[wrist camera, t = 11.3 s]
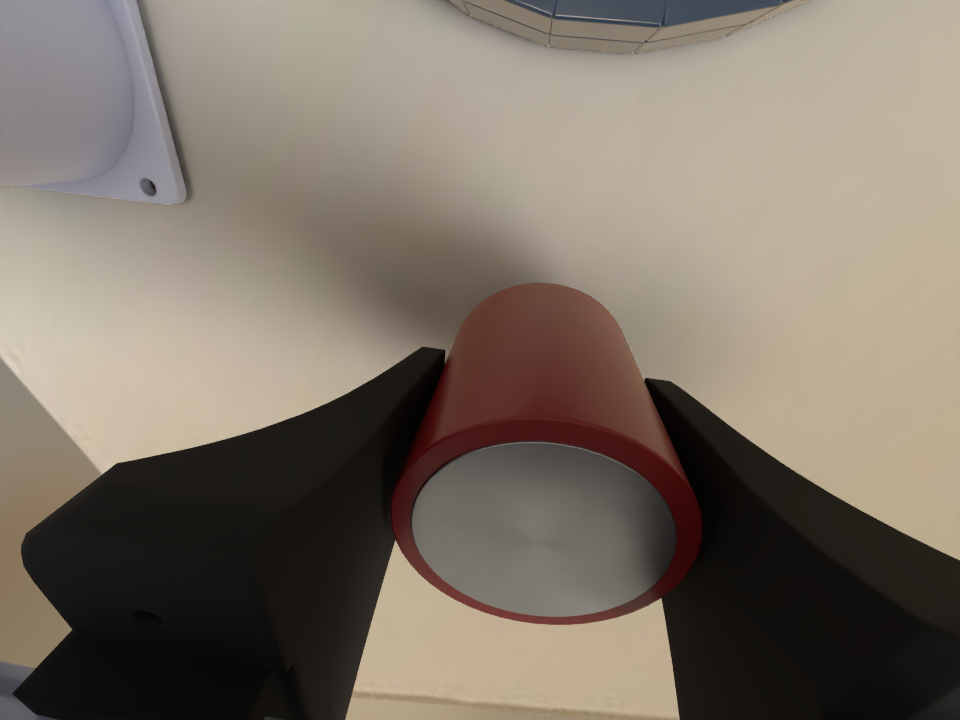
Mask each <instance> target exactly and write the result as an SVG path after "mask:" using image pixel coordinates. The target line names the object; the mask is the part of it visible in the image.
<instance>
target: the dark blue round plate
mask: <svg viewBox="0 0 960 720" xmlns="http://www.w3.org/2000/svg"><path fill="white" fill-rule="evenodd" d="M448 1H450V2H451V3H452V4H454V5H455V6H456V7H458V8H459V9H460V10H462V11H463V12H465V13H466V14H467V15H471V16H472V17H473V18H475V19H478V20H480V21H483V22H485V23H488V24H490V25H493V26H496V27H498V28H501V29H503V30H506V31H508V32H511V33H513V34H516V35H519V36H521V37H524V38H526V39H529V40H531V41H534V42H537V43H539V44H542V45H544V46H548V45H549V46H550V47H553V48H565V49H576V50H588V51H599V52H611V53H622V54H631V53H632V52H633V53H635V54H637V53H642V52H647V51H653V50H658V49H664V48H669V47H675V46H680V45H686V44H691V43H697V42H702V41H708V40H713V39H718V38H721V37H723V36H729V35H731V34H733V33H736V32H738V31H740V30H742V29H745V28H747V27H749V26H752V25H754V24H756V23H759V22H761V21H763V20H766V19H768V18H770V17H773V16H775V15H777V14H780V13H782V12H784V11H786V10H789V9H791V8H793V7H796V6H798V5H800V4H803V3H805V2H807V1H810V0H448Z"/></svg>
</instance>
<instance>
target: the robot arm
mask: <svg viewBox="0 0 960 720" xmlns="http://www.w3.org/2000/svg"><path fill="white" fill-rule="evenodd" d="M151 181H152V182H153V183H154V185H155V187H156V192H155V191H154V190H153V188H152V186H151ZM10 186H13V187H21V188H29V189H37V190H46V191H54V192H62V193H71V194H79V195H87V196H96V197H104V198H112V199H120V200H129V201H137V202H145V203H154V204H162V205H175V204H181V203H182V202H184V201H185V199H186V196H187V194H186V187H185V183H184V180H183V176H182V172H181V168H180V164H179V161H178V157H177V153H176V149H175V145H174V141H173V138H172V134H171V130H170V126H169V122H168V119H167V115H166V111H165V107H164V103H163V99H162V96H161V92H160V88H159V84H158V80H157V77H156V73H155V69H154V65H153V61H152V57H151V54H150V50H149V46H148V42H147V38H146V35H145V31H144V27H143V23H142V19H141V15H140V12H139V8H138V4H137V0H0V187H10ZM444 364H445V350H442V349H435V348H428V347H422V348H420V349H418V350H417V351H415V352H414V353H412V354H411V355H409V356H408V357H406V358H405V359H403V360H402V361H400V362H399V363H397V364H396V365H394V366H393V367H391V368H390V369H388V370H387V371H385V372H383V373H382V374H380V375H379V376H377V377H375V378H374V379H372V380H370V381H368V382H367V383H365V384H363V385H361V386H360V387H358V388H356V389H354V390H353V391H351V392H349V393H347V394H345V395H343V396H341V397H339V398H337V399H335V400H333V401H331V402H329V403H327V404H324V405H322V406H320V407H318V408H315V409H313V410H311V411H308V412H306V413H304V414H301V415H298V416H295V417H293V418H290V419H287V420H284V421H282V422H279V423H276V424H273V425H270V426H268V427H265V428H262V429H259V430H256V431H252V432H249V433H246V434H242V435H239V436H236V437H232V438H229V439H225V440H221V441H217V442H214V443H210V444H206V445H202V446H198V447H194V448H190V449H185V450H180V451H176V452H171V453H166V454H161V455H157V456H152V457H147V458H142V459H138V460H133V461H127V462H122V463H117V464H115V465H114V466H113V467H112V468H110V469H109V470H108V471H106V472H105V473H104V474H103V475H101V476H100V477H99V478H97V479H96V480H95V481H93V482H92V483H91V484H90V485H88V486H87V487H86V488H85V489H83V490H82V491H81V492H79V493H78V494H77V495H75V496H74V497H73V498H71V499H70V500H69V501H68V502H66V503H65V504H64V505H63V506H61V507H60V508H58V509H57V510H56V511H55V512H53V513H52V514H51V515H50V516H48V517H47V518H46V519H44V520H43V521H42V522H40V523H39V524H38V525H36V526H35V527H34V528H33V529H31V530H30V531H29V532H28V533H26V536H25V538H24V540H23V543H22V545H21V555H22V560H23V565H24V567H25V569H26V570H27V572H28V574H29V575H30V577H31V578H32V580H33V581H34V583H35V584H36V585H37V586H38V588H39V589H40V590H41V591H42V592H43V594H44V595H45V596H46V597H47V599H48V600H49V601H50V602H51V604H52V605H53V606H54V607H55V609H56V610H57V611H58V612H59V613H60V615H61V616H62V617H63V618H64V620H65V621H66V622H67V623H68V624H69V626H70V627H71V628H72V629H73V630H72V631H71V632H70V633H69V634H68V635H67V636H66V637H65V638H64V639H63V640H62V641H61V642H60V643H59V645H58V646H57V647H56V648H55V649H54V650H53V651H52V652H51V653H50V654H49V655H48V656H47V657H46V658H45V659H44V660H43V661H42V663H40V665H39V666H38V667H37V668H32V667H27V666H22V665H17V664H12V663H8V662H3V661H0V720H345V718H346V714H347V710H348V707H349V703H350V699H351V695H352V692H353V688H354V684H355V680H356V676H357V672H358V669H359V665H360V661H361V657H362V654H363V650H364V647H365V643H366V639H367V636H368V632H369V628H370V625H371V621H372V618H373V614H374V610H375V607H376V603H377V600H378V597H379V593H380V590H381V586H382V583H383V579H384V576H385V572H386V569H387V566H388V562H389V559H390V556H391V552H392V549H393V546H394V543H395V536H394V533H393V530H392V525H391V517H390V505H391V497H392V493H393V489H394V486H395V483H396V481H397V479H398V476H399V474H400V471H401V469H402V466H403V464H404V462H405V459H406V457H407V454H408V452H409V450H410V447H411V445H412V442H413V440H414V437H415V435H416V433H417V430H418V428H419V425H420V423H421V420H422V418H423V416H424V413H425V411H426V408H427V406H428V403H429V401H430V399H431V396H432V394H433V391H434V389H435V387H436V384H437V382H438V379H439V377H440V374H441V372H442V370H443V367H444ZM644 382H645V384H646V386H647V389H648V391H649V393H650V395H651V398H652V400H653V402H654V404H655V407H656V409H657V411H658V413H659V416H660V418H661V420H662V422H663V425H664V427H665V429H666V431H667V433H668V436H669V438H670V440H671V442H672V445H673V447H674V449H675V451H676V454H677V456H678V458H679V460H680V463H681V465H682V467H683V469H684V472H685V474H686V476H687V478H688V481H689V483H690V485H691V487H692V490H693V492H694V494H695V497H696V499H697V502H698V504H699V507H700V510H701V516H702V521H703V532H702V542H701V546H700V550H699V554H698V556H697V558H696V560H695V562H694V564H693V566H692V568H691V569H690V571H689V572H688V573H687V575H686V576H685V578H684V579H683V580H682V581H681V582H680V583H679V584H678V585H677V586H676V587H675V588H674V589H672V590H671V591H670V592H668V593H667V594H666V595H665V596H663V597H662V603H663V609H664V614H665V620H666V626H667V633H668V639H669V645H670V652H671V658H672V664H673V672H674V679H675V687H676V694H677V702H678V709H679V717H680V720H960V560H957V559H955V558H953V557H951V556H949V555H947V554H945V553H942V552H940V551H938V550H936V549H934V548H932V547H930V546H928V545H926V544H924V543H922V542H920V541H918V540H916V539H914V538H912V537H910V536H908V535H906V534H904V533H902V532H900V531H898V530H896V529H894V528H892V527H891V526H889V525H887V524H885V523H883V522H881V521H879V520H877V519H876V518H874V517H872V516H870V515H868V514H866V513H864V512H862V511H861V510H859V509H857V508H855V507H853V506H851V505H850V504H848V503H846V502H844V501H843V500H841V499H839V498H837V497H836V496H834V495H832V494H830V493H829V492H827V491H826V490H824V489H822V488H821V487H819V486H817V485H816V484H814V483H812V482H811V481H809V480H808V479H806V478H804V477H803V476H801V475H799V474H798V473H796V472H795V471H793V470H792V469H790V468H788V467H787V466H785V465H784V464H782V463H781V462H779V461H778V460H776V459H775V458H774V457H772V456H771V455H769V454H768V453H766V452H765V451H764V450H762V449H761V448H759V447H758V446H756V445H755V444H753V443H752V442H751V441H749V440H748V439H747V438H745V437H744V436H743V435H741V434H740V433H738V432H737V431H736V430H735V429H733V428H732V427H731V426H729V425H728V424H727V423H725V422H724V421H723V420H721V419H720V418H719V417H718V416H716V415H715V414H714V413H712V412H711V411H710V410H709V409H707V408H706V407H705V406H703V405H702V404H701V403H700V402H698V401H697V400H696V399H694V398H693V397H692V396H690V395H689V394H688V393H687V392H685V391H684V390H682V389H681V388H680V387H678V386H677V385H675V384H674V383H672V382H670V381H664V380H657V379H650V378H645V381H644Z"/></svg>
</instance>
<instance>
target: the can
mask: <svg viewBox="0 0 960 720" xmlns="http://www.w3.org/2000/svg"><path fill="white" fill-rule="evenodd" d="M390 517H391V525H392V530H393V533H394V536H395V539H396V541H397V543H398V545H399V547H400V549H401V551H402V553H403V554H404V556H405V557H406V559H407V560H408V562H409V563H410V564H411V565H412V566H413V568H414V569H415V570H416V571H417V572H418V573H419V574H420V575H421V576H422V577H423V578H424V579H426V580H427V581H428V582H429V583H430V584H432V585H433V586H434V587H436V588H437V589H439V590H440V591H441V592H443V593H445V594H446V595H448V596H450V597H451V598H453V599H455V600H457V601H459V602H461V603H463V604H465V605H467V606H469V607H472V608H474V609H477V610H480V611H482V612H485V613H488V614H491V615H495V616H498V617H502V618H506V619H511V620H515V621H521V622H528V623H535V624H549V625H571V624H585V623H592V622H598V621H604V620H608V619H612V618H616V617H620V616H623V615H626V614H629V613H632V612H635V611H637V610H639V609H641V608H644V607H646V606H648V605H650V604H652V603H653V602H655V601H657V600H658V599H660V598H662V597H663V596H665V595H666V594H667V593H668V592H670V591H671V590H672V589H674V588H675V587H676V586H677V585H678V584H679V583H680V582H681V581H682V580H683V579H684V578H685V576H686V575H687V573H688V572H689V571H690V569H691V568H692V566H693V564H694V562H695V560H696V558H697V556H698V554H699V550H700V546H701V542H702V532H703V521H702V516H701V510H700V507H699V504H698V502H697V499H696V497H695V494H694V492H693V490H692V487H691V485H690V483H689V481H688V478H687V476H686V474H685V472H684V469H683V467H682V465H681V463H680V460H679V458H678V456H677V454H676V451H675V449H674V447H673V445H672V442H671V440H670V438H669V436H668V433H667V431H666V429H665V427H664V425H663V422H662V420H661V418H660V416H659V413H658V411H657V409H656V407H655V404H654V402H653V400H652V398H651V395H650V393H649V391H648V389H647V386H646V384H645V382H644V380H643V377H642V375H641V373H640V371H639V368H638V366H637V364H636V362H635V359H634V357H633V355H632V353H631V351H630V348H629V346H628V344H627V342H626V339H625V337H624V335H623V333H622V330H621V328H620V327H619V325H618V323H617V322H616V320H615V318H614V317H613V316H612V315H611V314H610V312H609V311H608V310H607V309H606V308H605V307H603V306H602V305H601V304H600V303H599V302H598V301H596V300H595V299H593V298H592V297H590V296H589V295H586V294H584V293H582V292H580V291H578V290H576V289H572V288H569V287H566V286H562V285H557V284H548V283H532V284H524V285H519V286H514V287H511V288H508V289H505V290H502V291H500V292H498V293H496V294H494V295H492V296H490V297H489V298H487V299H486V300H484V301H483V302H482V303H480V304H479V305H478V306H477V307H476V308H475V309H474V310H473V311H472V312H471V313H470V314H469V315H468V316H467V318H466V319H465V321H464V322H463V324H462V325H461V327H460V329H459V331H458V333H457V336H456V338H455V341H454V343H453V345H452V348H451V350H450V353H449V355H448V357H447V360H446V362H445V365H444V367H443V370H442V372H441V374H440V377H439V379H438V382H437V384H436V387H435V389H434V391H433V394H432V396H431V399H430V401H429V403H428V406H427V408H426V411H425V413H424V416H423V418H422V420H421V423H420V425H419V428H418V430H417V433H416V435H415V437H414V440H413V442H412V445H411V447H410V450H409V452H408V454H407V457H406V459H405V462H404V464H403V466H402V469H401V471H400V474H399V476H398V479H397V481H396V483H395V486H394V489H393V493H392V497H391V505H390Z"/></svg>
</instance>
